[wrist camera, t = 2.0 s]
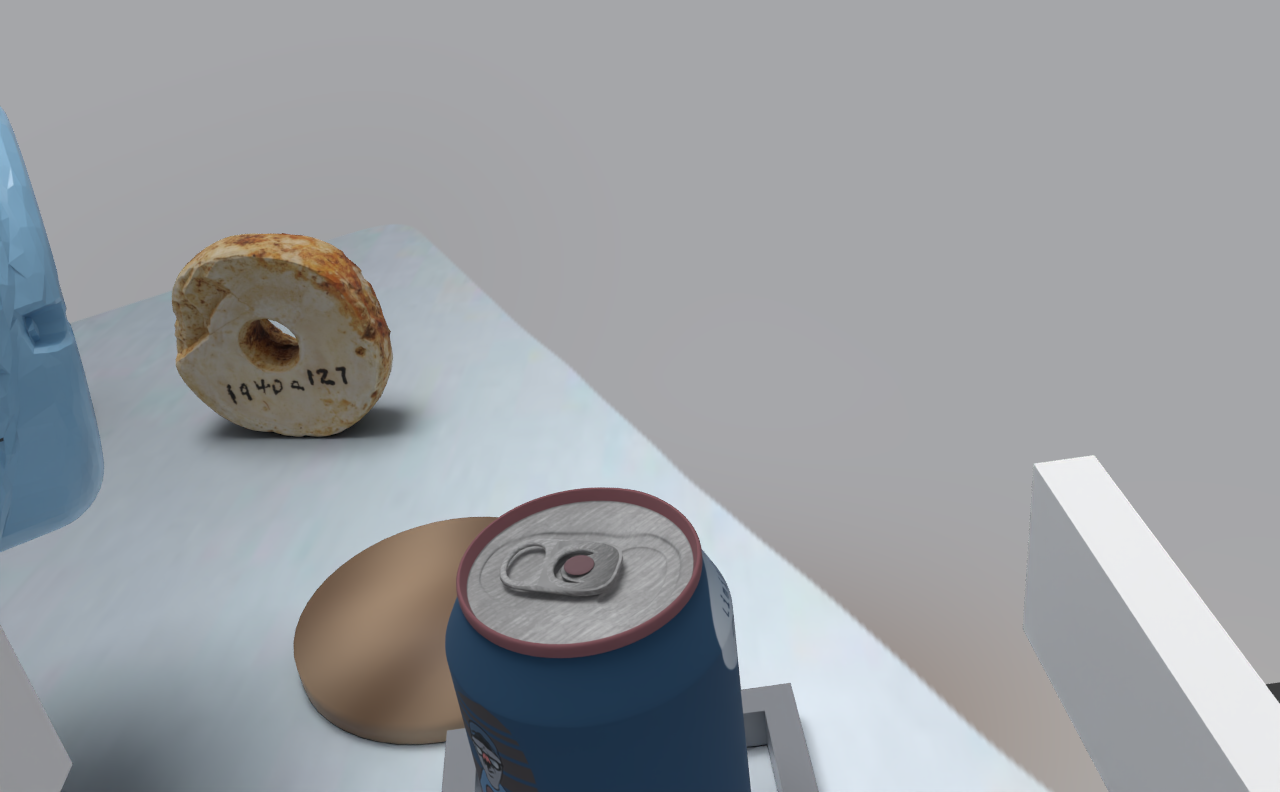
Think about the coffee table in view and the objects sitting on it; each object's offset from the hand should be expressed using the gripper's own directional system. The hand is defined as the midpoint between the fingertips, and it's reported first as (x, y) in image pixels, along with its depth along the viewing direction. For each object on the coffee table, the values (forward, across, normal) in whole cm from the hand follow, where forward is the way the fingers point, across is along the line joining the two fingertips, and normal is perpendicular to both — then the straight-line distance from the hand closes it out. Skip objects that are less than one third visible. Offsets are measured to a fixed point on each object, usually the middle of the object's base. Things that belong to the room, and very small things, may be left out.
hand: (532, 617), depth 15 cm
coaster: (+22, -6, -19) cm, 30 cm away
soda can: (+10, 0, -19) cm, 22 cm away
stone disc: (+39, -14, -19) cm, 45 cm away
